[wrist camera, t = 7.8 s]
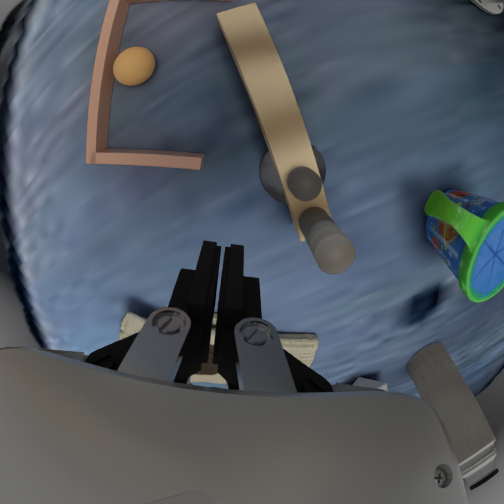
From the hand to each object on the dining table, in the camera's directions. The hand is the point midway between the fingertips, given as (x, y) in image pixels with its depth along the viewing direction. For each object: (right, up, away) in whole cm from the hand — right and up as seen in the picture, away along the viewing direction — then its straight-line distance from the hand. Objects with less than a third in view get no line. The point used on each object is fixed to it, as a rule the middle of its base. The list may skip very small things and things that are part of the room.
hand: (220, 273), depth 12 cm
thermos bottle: (+33, -18, +28) cm, 47 cm away
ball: (-9, +17, +7) cm, 20 cm away
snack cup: (+25, +5, +15) cm, 29 cm away
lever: (+3, +12, +9) cm, 16 cm away
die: (+20, -22, +30) cm, 42 cm away
